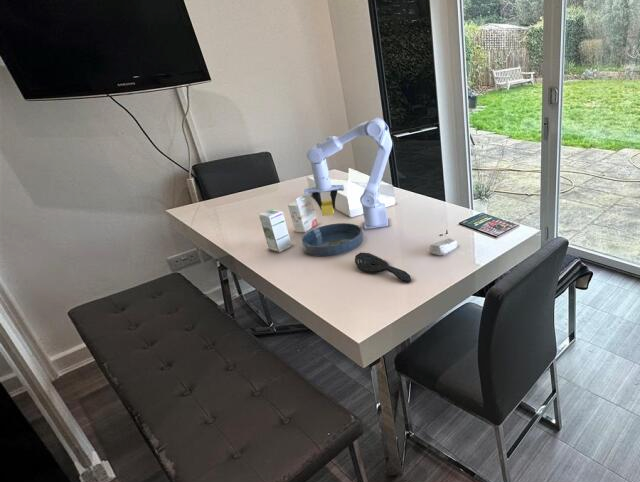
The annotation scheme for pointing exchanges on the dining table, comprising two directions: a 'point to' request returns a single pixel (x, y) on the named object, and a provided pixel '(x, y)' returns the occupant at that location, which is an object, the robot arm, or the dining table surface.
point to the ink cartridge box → (303, 213)
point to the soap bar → (443, 246)
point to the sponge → (327, 207)
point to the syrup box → (275, 230)
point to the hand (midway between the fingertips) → (328, 208)
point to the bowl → (332, 239)
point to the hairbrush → (378, 266)
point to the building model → (355, 193)
